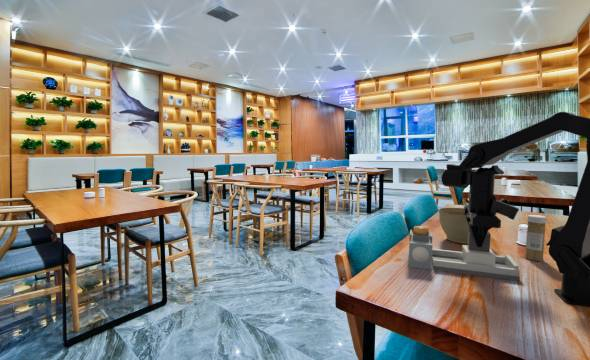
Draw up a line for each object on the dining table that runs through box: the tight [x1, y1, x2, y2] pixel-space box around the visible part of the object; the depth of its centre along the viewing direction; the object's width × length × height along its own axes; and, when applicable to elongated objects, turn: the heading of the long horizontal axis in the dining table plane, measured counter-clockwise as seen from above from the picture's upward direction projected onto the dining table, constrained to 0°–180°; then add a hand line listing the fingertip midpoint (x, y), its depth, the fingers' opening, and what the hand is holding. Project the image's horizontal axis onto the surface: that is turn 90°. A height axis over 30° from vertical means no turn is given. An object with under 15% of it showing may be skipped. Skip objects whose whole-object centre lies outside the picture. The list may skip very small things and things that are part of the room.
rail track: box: [432, 248, 521, 282], centre depth 88 cm, size 12×20×3 cm, turn 69°
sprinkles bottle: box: [524, 214, 547, 262], centre depth 95 cm, size 5×5×14 cm
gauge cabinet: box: [408, 229, 434, 271], centre depth 93 cm, size 12×6×9 cm, turn 159°
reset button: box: [413, 225, 429, 236], centre depth 92 cm, size 4×4×2 cm
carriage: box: [461, 230, 497, 266], centre depth 87 cm, size 7×7×9 cm
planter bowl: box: [438, 207, 470, 245], centre depth 114 cm, size 16×16×11 cm
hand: (478, 245), depth 87 cm, fingers closed on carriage, 2 cm apart
